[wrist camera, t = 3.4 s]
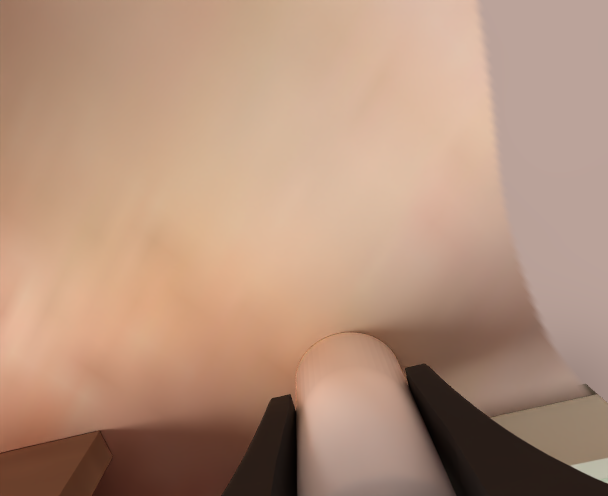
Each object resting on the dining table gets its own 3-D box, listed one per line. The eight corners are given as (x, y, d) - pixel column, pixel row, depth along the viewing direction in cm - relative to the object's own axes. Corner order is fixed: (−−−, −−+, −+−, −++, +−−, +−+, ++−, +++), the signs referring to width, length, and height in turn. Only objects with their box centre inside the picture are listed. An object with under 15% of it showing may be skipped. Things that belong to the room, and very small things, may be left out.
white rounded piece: (407, 408, 14) (476, 580, 9) (309, 430, 14) (319, 611, 9) (389, 321, 13) (456, 459, 8) (284, 346, 13) (277, 497, 8)
